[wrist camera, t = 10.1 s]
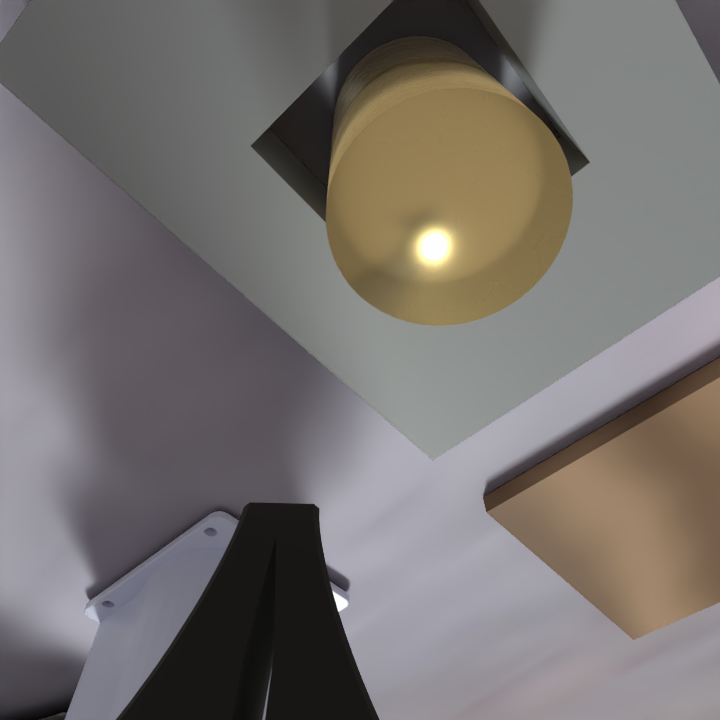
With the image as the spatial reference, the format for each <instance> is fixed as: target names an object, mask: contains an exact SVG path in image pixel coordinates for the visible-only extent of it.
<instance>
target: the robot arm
mask: <svg viewBox="0 0 720 720" xmlns="http://www.w3.org/2000/svg"><path fill="white" fill-rule="evenodd" d="M211 528H213V529H211ZM348 604H349V595H348V594H347V592H345V591H344V590H342V589H341V588H339V587H338V586H336V585H335V584H333V583H332V582H330V581H329V576H328V572H327V568H326V563H325V558H324V553H323V548H322V542H321V535H320V525H319V508H318V507H317V506H315V505H314V504H287V503H249V504H247V505H246V506H245V507H244V509H243V512H242V515H241V517H240V520H239V521H238V520H237V519H235V518H234V517H232V516H231V515H229V514H228V513H225V512H222V511H216V512H213V513H211V514H209V515H208V516H207V517H205V518H204V519H202V520H201V521H200V522H198V523H197V524H196V525H194V526H193V527H191V528H190V529H189V530H187V531H186V532H184V533H183V534H182V535H180V536H179V537H178V538H176V539H175V540H173V541H172V542H171V543H169V544H168V545H166V546H165V547H164V548H162V549H161V550H160V551H158V552H157V553H155V554H154V555H153V556H151V557H150V558H148V559H147V560H146V561H144V562H143V563H141V564H140V565H139V566H137V567H136V568H135V569H133V570H132V571H130V572H129V573H128V574H126V575H125V576H123V577H122V578H121V579H119V580H118V581H117V582H115V583H114V584H112V585H111V586H110V587H108V588H107V589H105V590H104V591H103V592H101V593H100V594H99V595H97V596H96V597H94V598H93V599H92V600H90V601H89V602H88V603H87V604H86V607H85V609H84V613H85V614H86V616H88V617H89V618H91V619H93V620H95V621H97V622H99V623H100V625H99V628H98V631H97V633H96V636H95V639H94V641H93V644H92V647H91V650H90V652H89V655H88V658H87V660H86V663H85V666H84V669H83V671H82V674H81V677H80V679H79V682H78V685H77V687H76V690H75V693H74V696H73V698H72V701H71V704H70V706H69V709H68V712H67V715H66V717H65V720H379V718H378V715H377V713H376V711H375V709H374V706H373V704H372V702H371V699H370V697H369V695H368V692H367V690H366V687H365V685H364V683H363V680H362V678H361V675H360V672H359V670H358V667H357V665H356V662H355V659H354V657H353V654H352V651H351V648H350V645H349V643H348V640H347V637H346V634H345V631H344V628H343V625H342V622H341V619H340V616H339V611H341V610H342V609H344V608H346V607H347V606H348Z"/></svg>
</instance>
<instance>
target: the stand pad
mask: <svg viewBox="0 0 720 720" xmlns="http://www.w3.org/2000/svg"><path fill="white" fill-rule="evenodd" d="M483 499H484V504H485V508H486V512H487V513H488V514H489V515H490V516H492V517H493V518H494V519H495V520H496V521H497V522H498V523H500V524H501V525H502V526H503V527H504V528H505V529H507V530H508V531H509V532H510V533H511V534H512V535H513V536H515V537H516V538H517V539H518V540H519V541H520V542H522V543H523V544H524V545H525V546H526V547H527V548H528V549H530V550H531V551H532V552H533V553H534V554H535V555H536V556H538V557H539V558H540V559H541V560H542V561H543V562H545V563H546V564H547V565H548V566H549V567H550V568H551V569H553V570H554V571H555V572H556V573H557V574H558V575H560V576H561V577H562V578H563V579H564V580H565V581H566V582H568V583H569V584H570V585H571V586H572V587H573V588H574V589H576V590H577V591H578V592H579V593H580V594H581V595H583V596H584V597H585V598H586V599H587V600H588V601H589V602H591V603H592V604H593V605H594V606H595V607H596V608H598V609H599V610H600V611H601V612H602V613H603V614H604V615H606V616H607V617H608V618H609V619H610V620H611V621H612V622H614V623H615V624H616V625H617V626H618V627H619V628H621V629H622V630H623V631H624V632H625V633H626V634H627V635H629V636H630V637H631V638H632V639H633V640H634V639H637V638H639V637H641V636H644V635H646V634H648V633H650V632H653V631H655V630H657V629H660V628H662V627H664V626H666V625H669V624H671V623H673V622H675V621H678V620H680V619H682V618H685V617H687V616H689V615H691V614H694V613H696V612H698V611H701V610H703V609H705V608H707V607H710V606H712V605H714V604H716V603H719V602H720V357H719V358H718V359H716V360H714V361H712V362H711V363H709V364H707V365H706V366H704V367H702V368H701V369H699V370H697V371H696V372H694V373H692V374H690V375H689V376H687V377H685V378H684V379H682V380H680V381H679V382H677V383H675V384H674V385H672V386H670V387H668V388H667V389H665V390H663V391H662V392H660V393H658V394H657V395H655V396H653V397H652V398H650V399H648V400H646V401H645V402H643V403H641V404H640V405H638V406H636V407H635V408H633V409H631V410H630V411H628V412H626V413H624V414H623V415H621V416H619V417H618V418H616V419H614V420H613V421H611V422H609V423H608V424H606V425H604V426H602V427H601V428H599V429H597V430H596V431H594V432H592V433H591V434H589V435H587V436H586V437H584V438H582V439H580V440H579V441H577V442H575V443H574V444H572V445H570V446H569V447H567V448H565V449H564V450H562V451H560V452H558V453H557V454H555V455H553V456H552V457H550V458H548V459H547V460H545V461H543V462H542V463H540V464H538V465H536V466H535V467H533V468H531V469H530V470H528V471H526V472H525V473H523V474H521V475H520V476H518V477H516V478H514V479H513V480H511V481H509V482H508V483H506V484H504V485H503V486H501V487H499V488H498V489H496V490H494V491H492V492H491V493H489V494H487V495H486V496H484V497H483Z"/></svg>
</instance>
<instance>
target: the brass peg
mask: <svg viewBox="0 0 720 720" xmlns="http://www.w3.org/2000/svg"><path fill="white" fill-rule="evenodd" d="M572 207H573V188H572V180H571V174H570V170H569V166H568V163H567V160H566V157H565V155H564V153H563V150H562V148H561V146H560V144H559V143H558V141H557V139H556V138H555V136H554V135H553V133H552V132H551V131H550V129H549V128H548V127H547V126H546V125H545V124H544V123H543V121H542V120H541V119H540V118H538V117H537V116H536V115H535V114H534V113H533V112H532V111H531V110H530V109H528V108H527V107H526V106H525V105H524V104H523V103H522V102H521V101H519V100H518V99H517V98H516V97H515V96H514V95H513V94H512V93H510V92H509V91H508V90H507V89H506V88H505V87H504V86H503V85H502V84H500V83H499V82H498V81H497V80H496V79H495V78H494V77H493V76H491V75H490V74H489V73H488V72H487V71H486V70H485V69H484V68H482V67H481V66H480V65H479V64H478V63H477V62H476V61H475V60H474V59H472V58H471V57H470V56H469V55H468V54H467V53H465V52H464V51H463V50H462V49H460V48H458V47H457V46H455V45H454V44H452V43H449V42H447V41H444V40H442V39H438V38H434V37H428V36H408V37H403V38H398V39H395V40H392V41H389V42H387V43H385V44H383V45H381V46H379V47H377V48H375V49H374V50H372V51H371V52H370V53H368V54H367V55H366V56H365V57H364V58H362V59H361V60H360V61H359V62H358V63H357V65H356V66H355V67H354V68H353V69H352V71H351V72H350V74H349V75H348V77H347V78H346V80H345V82H344V84H343V86H342V88H341V90H340V93H339V96H338V99H337V102H336V107H335V112H334V122H333V134H332V146H331V157H330V169H329V180H328V192H327V204H326V229H327V236H328V241H329V246H330V249H331V252H332V255H333V258H334V260H335V262H336V264H337V266H338V268H339V270H340V272H341V274H342V275H343V277H344V278H345V279H346V281H347V282H348V284H349V285H350V286H351V287H352V288H353V289H354V291H355V292H356V293H357V294H358V295H359V296H360V297H362V298H363V299H364V300H365V301H366V302H368V303H369V304H370V305H372V306H373V307H375V308H377V309H378V310H380V311H381V312H383V313H385V314H388V315H390V316H392V317H394V318H397V319H400V320H403V321H406V322H410V323H416V324H421V325H432V326H445V325H456V324H463V323H468V322H471V321H475V320H479V319H482V318H484V317H487V316H489V315H492V314H494V313H496V312H498V311H500V310H502V309H504V308H506V307H508V306H509V305H511V304H512V303H514V302H515V301H517V300H518V299H520V298H521V297H522V296H523V295H524V294H526V293H527V292H528V291H529V290H530V289H532V288H533V287H534V285H535V284H536V283H537V282H538V281H539V280H540V279H541V278H542V277H543V276H544V274H545V273H546V272H547V270H548V269H549V268H550V266H551V265H552V263H553V262H554V260H555V258H556V257H557V255H558V253H559V252H560V249H561V247H562V245H563V242H564V240H565V238H566V235H567V231H568V228H569V224H570V220H571V213H572Z"/></svg>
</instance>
